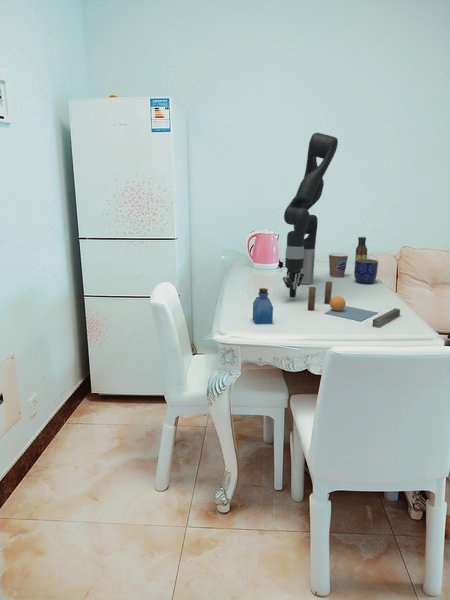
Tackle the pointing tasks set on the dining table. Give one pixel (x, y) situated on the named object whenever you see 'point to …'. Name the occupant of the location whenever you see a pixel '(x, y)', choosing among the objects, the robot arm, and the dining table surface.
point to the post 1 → (311, 298)
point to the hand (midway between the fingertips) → (292, 297)
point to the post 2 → (328, 292)
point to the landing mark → (352, 313)
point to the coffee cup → (337, 264)
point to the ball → (337, 303)
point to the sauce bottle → (361, 249)
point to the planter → (365, 270)
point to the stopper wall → (386, 317)
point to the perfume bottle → (262, 308)
